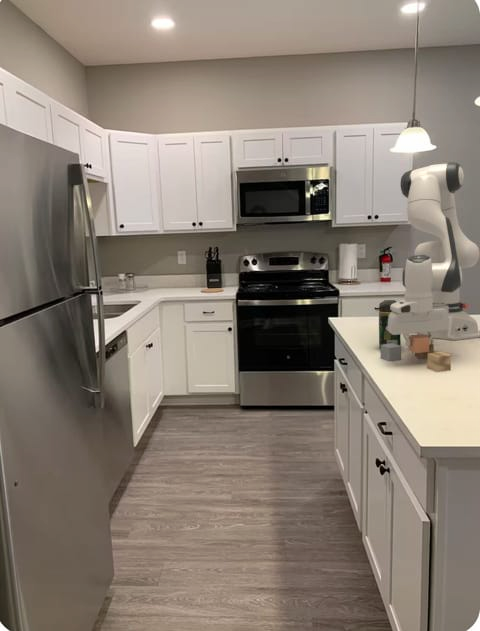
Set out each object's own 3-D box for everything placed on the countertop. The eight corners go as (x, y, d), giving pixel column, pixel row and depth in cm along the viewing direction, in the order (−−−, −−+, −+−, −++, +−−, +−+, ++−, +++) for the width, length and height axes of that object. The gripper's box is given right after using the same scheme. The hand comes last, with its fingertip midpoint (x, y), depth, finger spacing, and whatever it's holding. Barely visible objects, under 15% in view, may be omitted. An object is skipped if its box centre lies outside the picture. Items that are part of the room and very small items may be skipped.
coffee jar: (378, 345, 191) (378, 298, 188) (399, 345, 189) (400, 298, 185) (378, 351, 182) (378, 302, 178) (400, 352, 180) (401, 302, 176)
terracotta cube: (422, 348, 167) (422, 334, 166) (429, 351, 162) (429, 337, 161) (408, 349, 166) (408, 335, 165) (414, 353, 162) (414, 338, 161)
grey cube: (392, 356, 174) (392, 343, 173) (401, 360, 170) (401, 346, 169) (380, 358, 173) (380, 344, 172) (389, 361, 168) (389, 347, 167)
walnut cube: (428, 355, 174) (429, 341, 173) (433, 358, 169) (433, 344, 168) (414, 355, 175) (414, 341, 174) (418, 359, 170) (419, 345, 169)
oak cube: (440, 366, 160) (440, 351, 159) (450, 370, 155) (451, 355, 154) (427, 368, 159) (427, 353, 158) (437, 372, 154) (437, 356, 153)
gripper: (443, 300, 165) (443, 340, 168) (385, 305, 163) (385, 345, 166) (453, 303, 159) (452, 344, 162) (393, 308, 157) (393, 350, 160)
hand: (418, 345), depth 164 cm, fingers closed on terracotta cube, 5 cm apart
